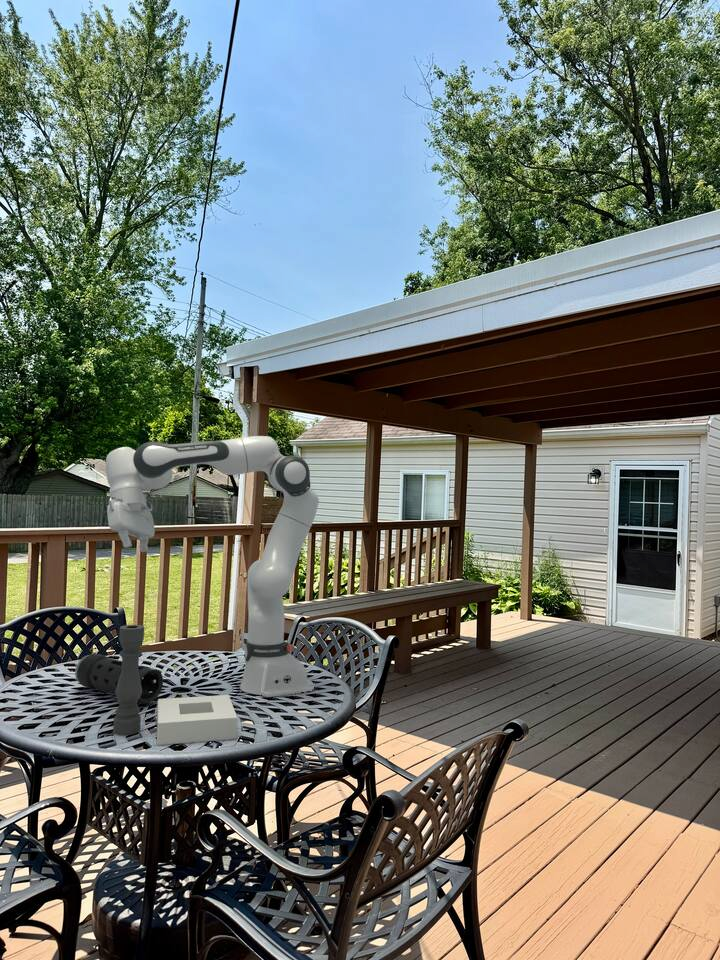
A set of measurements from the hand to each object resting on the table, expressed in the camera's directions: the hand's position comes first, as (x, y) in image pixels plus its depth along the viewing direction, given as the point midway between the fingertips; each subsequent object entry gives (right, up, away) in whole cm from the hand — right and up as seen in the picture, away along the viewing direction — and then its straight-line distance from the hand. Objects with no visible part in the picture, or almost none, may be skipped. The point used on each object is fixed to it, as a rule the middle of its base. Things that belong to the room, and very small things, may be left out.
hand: (136, 549), depth 170 cm
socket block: (+21, -42, -18) cm, 51 cm away
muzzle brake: (-7, -43, +4) cm, 44 cm away
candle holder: (+5, -42, -21) cm, 47 cm away
